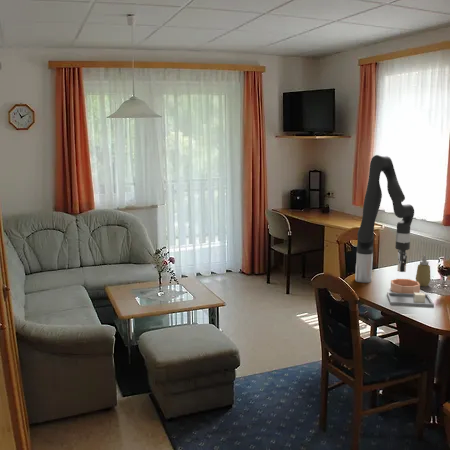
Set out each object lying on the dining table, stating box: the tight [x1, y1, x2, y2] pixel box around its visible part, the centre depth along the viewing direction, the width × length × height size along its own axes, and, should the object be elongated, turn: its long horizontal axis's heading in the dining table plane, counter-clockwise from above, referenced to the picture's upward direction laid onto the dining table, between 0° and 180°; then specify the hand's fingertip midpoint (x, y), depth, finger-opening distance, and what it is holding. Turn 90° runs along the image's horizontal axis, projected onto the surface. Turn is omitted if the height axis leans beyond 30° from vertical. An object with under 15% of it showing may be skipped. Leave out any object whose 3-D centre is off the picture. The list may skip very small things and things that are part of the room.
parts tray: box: [386, 291, 435, 308], centre depth 267 cm, size 21×16×2 cm
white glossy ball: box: [396, 262, 407, 273], centre depth 282 cm, size 4×4×4 cm
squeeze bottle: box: [415, 254, 431, 287], centre depth 293 cm, size 8×8×18 cm
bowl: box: [390, 278, 421, 294], centre depth 284 cm, size 15×15×5 cm
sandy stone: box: [413, 292, 426, 303], centre depth 266 cm, size 5×4×4 cm
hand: (401, 270), depth 283 cm, fingers closed on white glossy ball, 4 cm apart
